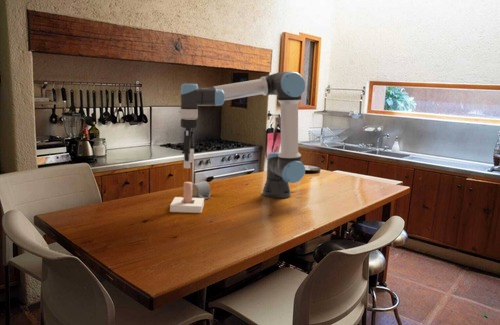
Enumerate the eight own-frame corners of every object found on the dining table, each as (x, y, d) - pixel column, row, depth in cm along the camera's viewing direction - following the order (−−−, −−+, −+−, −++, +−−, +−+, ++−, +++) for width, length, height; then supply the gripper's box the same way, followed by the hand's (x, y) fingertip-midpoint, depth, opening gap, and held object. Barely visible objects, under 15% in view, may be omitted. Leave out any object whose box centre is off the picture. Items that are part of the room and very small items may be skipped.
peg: (192, 206, 193) (192, 181, 191) (191, 209, 189) (191, 183, 187) (183, 206, 193) (184, 181, 191) (182, 208, 189) (183, 183, 187)
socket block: (204, 204, 198) (204, 198, 198) (201, 212, 184) (201, 206, 184) (174, 203, 198) (175, 197, 197) (169, 211, 184) (170, 205, 183)
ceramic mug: (189, 196, 211) (189, 181, 210) (201, 193, 217) (202, 179, 215) (201, 201, 204) (201, 186, 202) (214, 198, 209) (214, 184, 208)
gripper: (184, 116, 196) (184, 159, 200) (176, 120, 171) (176, 170, 175) (200, 116, 196) (199, 160, 200) (194, 121, 171) (194, 170, 175)
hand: (189, 165), depth 187 cm, fingers open, 13 cm apart
